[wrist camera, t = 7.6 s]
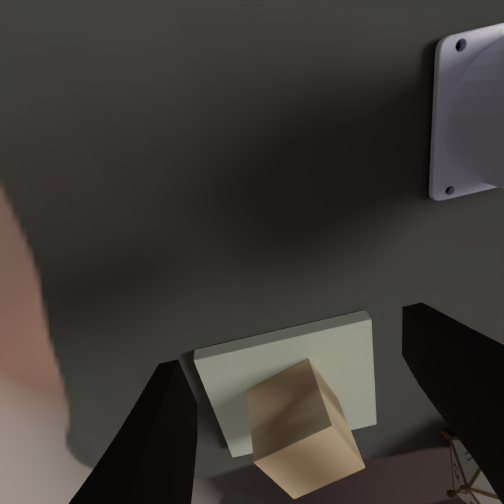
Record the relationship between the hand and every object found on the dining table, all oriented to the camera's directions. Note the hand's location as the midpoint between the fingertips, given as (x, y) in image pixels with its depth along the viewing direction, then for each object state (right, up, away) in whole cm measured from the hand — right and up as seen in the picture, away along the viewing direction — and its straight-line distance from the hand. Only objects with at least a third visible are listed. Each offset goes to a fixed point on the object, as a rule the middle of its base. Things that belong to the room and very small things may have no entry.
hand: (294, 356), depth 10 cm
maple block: (+2, -7, +13) cm, 15 cm away
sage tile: (+2, -7, +14) cm, 16 cm away
